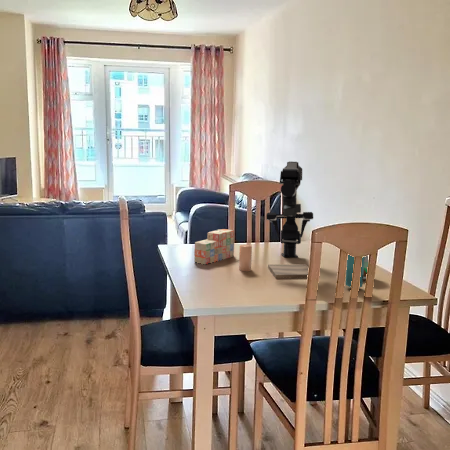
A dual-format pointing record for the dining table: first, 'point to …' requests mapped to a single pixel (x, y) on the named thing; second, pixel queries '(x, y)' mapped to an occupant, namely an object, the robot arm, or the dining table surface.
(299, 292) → the dining table surface
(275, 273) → the tan flat square block
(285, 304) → the dining table surface
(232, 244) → the stack of blocks
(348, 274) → the beverage bottle
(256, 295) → the dining table surface
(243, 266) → the terracotta cylinder
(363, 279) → the food container
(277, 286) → the dining table surface
